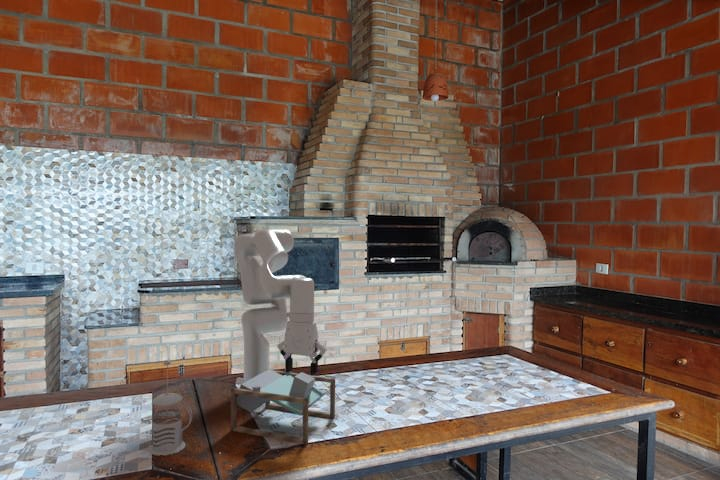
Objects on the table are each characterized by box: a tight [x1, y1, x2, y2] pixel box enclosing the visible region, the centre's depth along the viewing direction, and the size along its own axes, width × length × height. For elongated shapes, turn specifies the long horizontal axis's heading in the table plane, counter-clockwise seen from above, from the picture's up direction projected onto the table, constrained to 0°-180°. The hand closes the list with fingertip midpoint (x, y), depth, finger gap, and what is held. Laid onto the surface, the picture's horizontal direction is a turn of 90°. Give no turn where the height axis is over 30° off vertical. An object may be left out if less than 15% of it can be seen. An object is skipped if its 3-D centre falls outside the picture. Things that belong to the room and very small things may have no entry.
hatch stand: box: [230, 368, 336, 446], centre depth 152 cm, size 26×21×14 cm
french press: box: [148, 359, 193, 456], centre depth 135 cm, size 10×12×25 cm
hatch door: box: [237, 368, 326, 416], centre depth 152 cm, size 22×18×8 cm
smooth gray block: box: [289, 371, 315, 398], centre depth 150 cm, size 5×5×6 cm
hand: (301, 372), depth 150 cm, fingers open, 8 cm apart
